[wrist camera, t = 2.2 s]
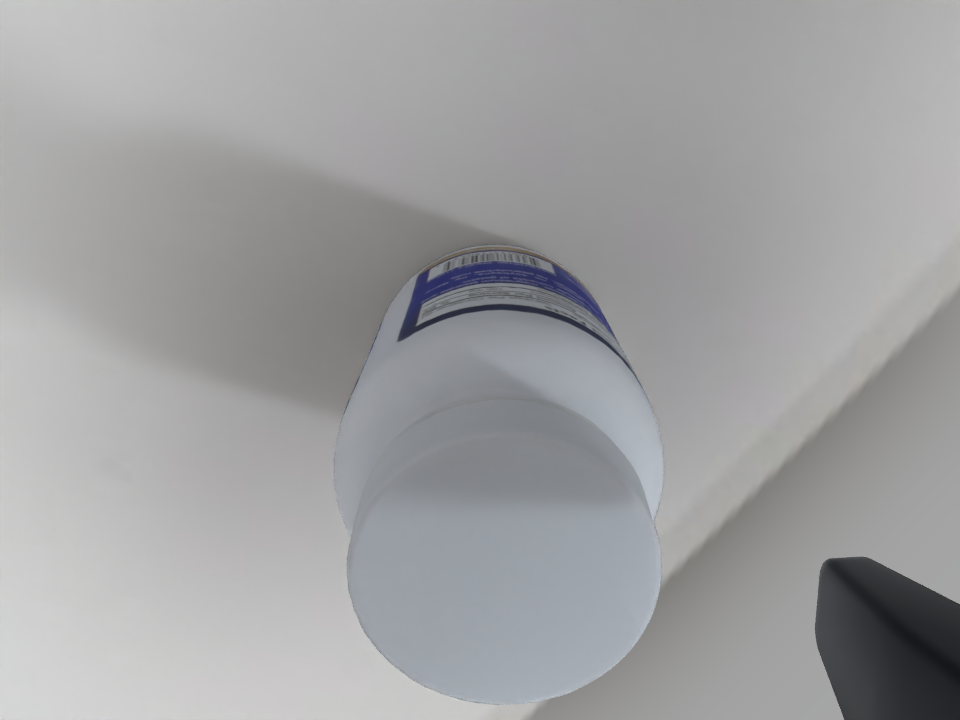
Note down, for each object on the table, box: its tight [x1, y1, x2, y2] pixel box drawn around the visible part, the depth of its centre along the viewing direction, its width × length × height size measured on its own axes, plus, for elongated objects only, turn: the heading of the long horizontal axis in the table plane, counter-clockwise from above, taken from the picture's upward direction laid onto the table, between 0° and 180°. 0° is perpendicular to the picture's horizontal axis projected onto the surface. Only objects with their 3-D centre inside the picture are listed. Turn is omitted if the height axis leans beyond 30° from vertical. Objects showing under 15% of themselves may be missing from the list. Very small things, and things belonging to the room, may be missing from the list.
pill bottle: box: [334, 245, 664, 705], centre depth 14 cm, size 5×5×9 cm
